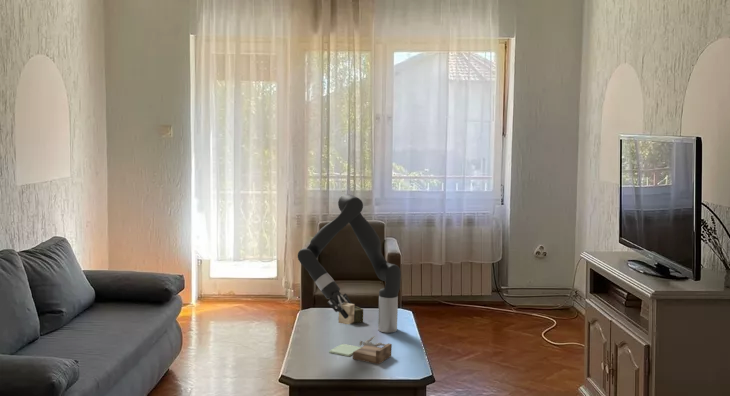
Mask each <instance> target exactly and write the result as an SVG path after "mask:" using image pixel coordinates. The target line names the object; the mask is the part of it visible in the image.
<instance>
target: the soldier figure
mask: <svg viewBox="0 0 730 396" xmlns="http://www.w3.org/2000/svg"><path fill="white" fill-rule="evenodd" d="M375 337H376V336H375V335H373V336H372V337H370V338H369V339H366V340H365V341H363V340H359V344H358V345H359V347H361V346H362V345H363V346H365V345H369V346H375V347H380V346H382V347H383V346H385V345H387V344H388V343H382V342H377V343H372V340H373V339H375Z"/></svg>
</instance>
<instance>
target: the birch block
mask: <svg viewBox="0 0 730 396" xmlns="http://www.w3.org/2000/svg"><path fill="white" fill-rule="evenodd" d="M341 306H342V307H343V309H344V310H345V311H346V313H347V314H348V315H349V316H348V317H347V318H346V319H345V318H344V317H343V316H342V314H341V313H340V312H338V323H339V324H343V325H352V324H351V323H353V322H354V306H355V303H352V304H350V303H344V302H343V304H342V305H341ZM339 307H340V306H339Z"/></svg>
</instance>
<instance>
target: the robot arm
mask: <svg viewBox="0 0 730 396" xmlns="http://www.w3.org/2000/svg"><path fill="white" fill-rule="evenodd" d="M337 205H338V209H339V211H340V212H339V214H338V216H336V217H335V218H334V219H333V220H331V221H330V222H328V223H326V224H325V225H324V226H322V227H321V228H320V229H319V230H318V231H317V232H316V233H315V235H314V236H313V237H312V238H311V239H310V243H309V244H308V245H307V247H306V248H305V247H303V248H301V249H300V250H299V251H298V253H297V260H298V261H299V263H300V264H301V265H302V266H303V268H304V269H305V270H306V272H307V273H308V274H309V276H310V277H311V279H312V280H313V281H314V283H315V285H316V286H317V288H318V289H319V290H320V291H321V293H322V295H324V296H323V297H325V299H326V300H328V301H327V304H328V306H330V308H332V309H333V311H334V312H335V313H339V312H340V313H341V314H342V316H343V317H344V318H345V319H346V318H347V317H348V316H349V315H348V314H347V313H346V311H345V310H344V309H343V307H342V306H341V305H342V304H343V303H350V304H353V303H352V302H351V300H350V298H349V297H348V294H347V293H344V294H343V293H341V292H340V290H341V288H340V286H339V284H337V282H336V281H335V280H334V278H333V277H332V276H331V275H330V274H329V273H328V272H327V270H326V269H325V267H324V266H323V265H322V264H321V263H320V262H319V260H318V257H319V255H320V254H321V253H322V251H323V250H324V249H325V248H326V247H327V245H328V244H329V243H331V241H332V240H333V238H335V236H336V235H337V234H338V233H339V232H341V231H342V229H344V228H346V226H347V225H348V224H349V225H350V227H351V229H352V231H353V233H354V235H355V237H356V238H357V240H358V242H359V243H360V245H361V248H362V249H363V250H364V252H365V254H366V256H367V258H368V259H369V261H370V263H371V265H372V267H373V270H374V272H375V274H376V277H377V279H379V280H380V281H382V282H384V287H383V288H380V289H379V291H378V317H377V318H378V322H377V330H378V331H379V332H382V333H386V334H387V333H390V334H391V333H396V332H397V330H398V310H399V308H398V306H399V305H398V303H399V301H398V300H399V292H400V289H401V279H402V278H401V277H402V271H401V268H400V267H399V265H397V264H395V263H390V262H388V261H387V260H386V259H385V256H384V255H383V252H382V241H381V238H380V236H379V235H378V233H377V232H376V230H375V228H374V227H373V226H372V225H371V223H370V222H369V221H368V220H367V219H366V218H365V217H364V215H363V214H362V211H363V208H364V203H363V201H362V199H360V198H359V197H358V196H355V195H354V194H353V195H352V194H349V193H344V194H342V195H340V197H339V199H338V202H337ZM339 306H340V307H339ZM354 314H355V312H354Z"/></svg>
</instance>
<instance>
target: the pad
mask: <svg viewBox="0 0 730 396" xmlns="http://www.w3.org/2000/svg"><path fill="white" fill-rule="evenodd" d="M360 348H361V346H357V345H352V344H346V343H341V344H340V345H337V346H335V347H334V348H332V349H330V350H329V352H328V353H329V354H333V355H334V354H335V355H339V356H345V357H351V356H353V352H354V351H356V350H358V349H360Z"/></svg>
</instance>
